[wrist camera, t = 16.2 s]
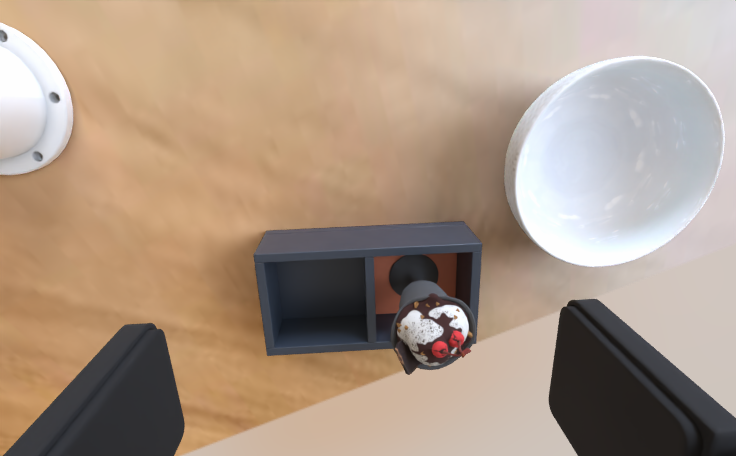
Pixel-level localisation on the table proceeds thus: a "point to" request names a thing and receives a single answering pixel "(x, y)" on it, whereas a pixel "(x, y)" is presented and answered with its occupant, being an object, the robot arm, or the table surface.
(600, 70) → the cereal bowl
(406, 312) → the sundae
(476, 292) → the caddy
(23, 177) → the table surface
